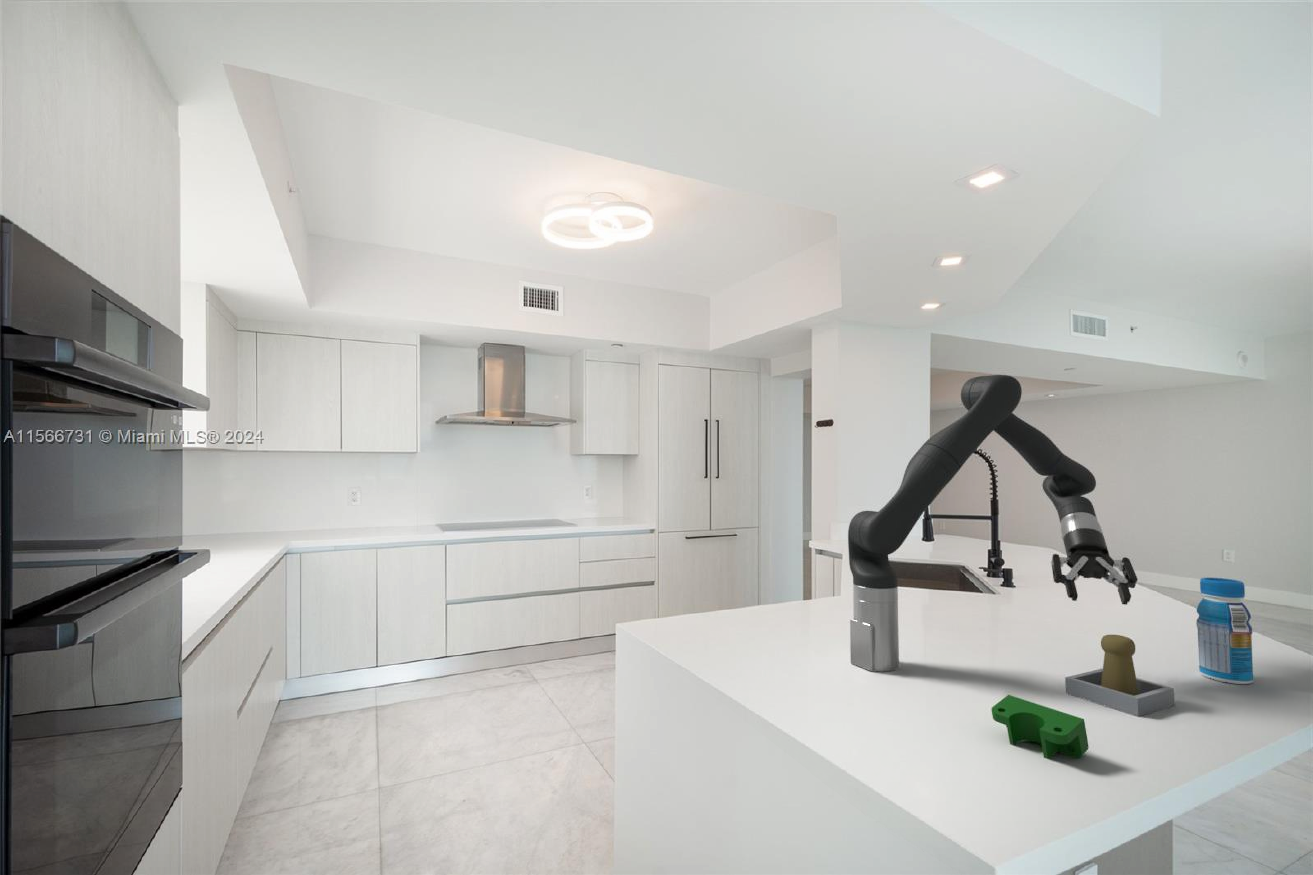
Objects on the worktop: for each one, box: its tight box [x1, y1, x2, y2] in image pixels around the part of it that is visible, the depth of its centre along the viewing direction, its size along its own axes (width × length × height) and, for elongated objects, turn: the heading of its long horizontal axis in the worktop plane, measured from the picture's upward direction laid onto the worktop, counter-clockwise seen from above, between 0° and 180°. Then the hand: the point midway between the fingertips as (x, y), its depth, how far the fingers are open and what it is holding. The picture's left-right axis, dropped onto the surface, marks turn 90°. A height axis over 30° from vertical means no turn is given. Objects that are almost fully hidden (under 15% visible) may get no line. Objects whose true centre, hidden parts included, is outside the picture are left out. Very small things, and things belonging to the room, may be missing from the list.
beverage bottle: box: [1195, 577, 1255, 685], centre depth 125 cm, size 8×8×20 cm
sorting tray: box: [1064, 668, 1176, 717], centre depth 113 cm, size 12×12×3 cm
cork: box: [1100, 634, 1139, 696], centre depth 113 cm, size 6×6×11 cm
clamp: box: [990, 694, 1089, 760], centre depth 93 cm, size 12×6×9 cm, turn 25°
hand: (1100, 600), depth 123 cm, fingers open, 8 cm apart
